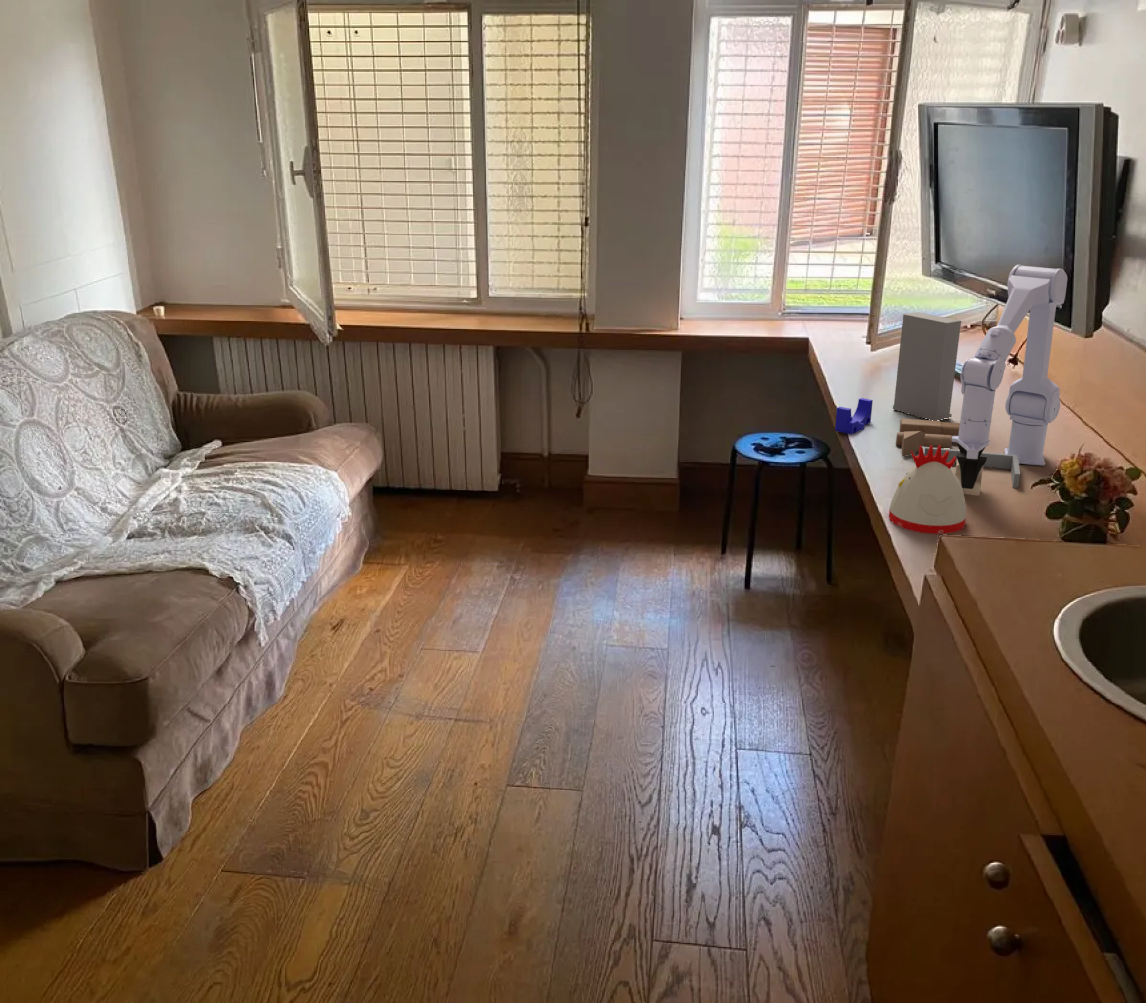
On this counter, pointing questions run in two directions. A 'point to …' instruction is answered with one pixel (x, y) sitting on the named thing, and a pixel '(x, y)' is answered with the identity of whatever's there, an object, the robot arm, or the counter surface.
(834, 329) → the counter surface
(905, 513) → the kitchen timer
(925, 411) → the tall grey upright block
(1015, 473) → the grey open bracket
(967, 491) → the birch block
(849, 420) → the cable clip
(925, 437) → the wooden block set
